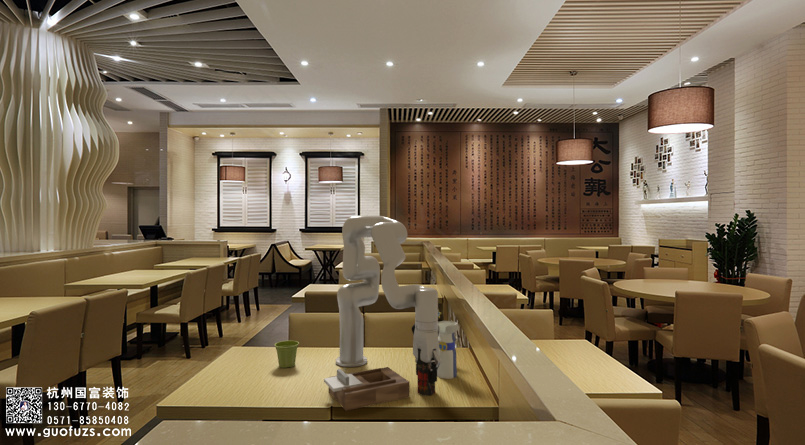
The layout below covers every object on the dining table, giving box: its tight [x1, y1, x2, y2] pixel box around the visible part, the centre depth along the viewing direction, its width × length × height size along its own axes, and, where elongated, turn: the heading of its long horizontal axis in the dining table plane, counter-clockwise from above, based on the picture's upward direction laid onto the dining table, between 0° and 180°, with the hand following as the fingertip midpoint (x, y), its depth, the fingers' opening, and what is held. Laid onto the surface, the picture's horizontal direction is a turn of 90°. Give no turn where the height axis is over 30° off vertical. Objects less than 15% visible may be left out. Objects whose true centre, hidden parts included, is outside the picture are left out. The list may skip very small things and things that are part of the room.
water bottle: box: [437, 308, 460, 380], centre depth 164 cm, size 8×9×25 cm
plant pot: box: [273, 340, 300, 369], centre depth 174 cm, size 9×9×9 cm
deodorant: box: [416, 348, 436, 397], centre depth 148 cm, size 6×6×15 cm
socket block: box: [328, 366, 410, 412], centre depth 146 cm, size 16×22×6 cm
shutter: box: [323, 368, 362, 392], centre depth 142 cm, size 10×10×4 cm
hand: (426, 377), depth 148 cm, fingers open, 7 cm apart
